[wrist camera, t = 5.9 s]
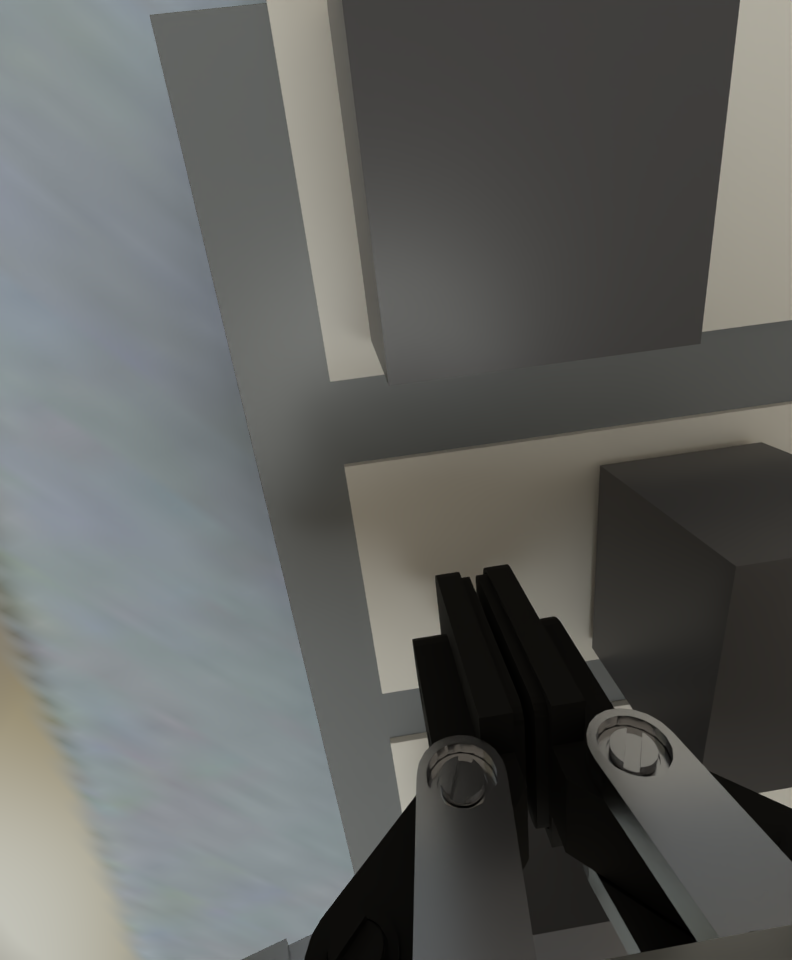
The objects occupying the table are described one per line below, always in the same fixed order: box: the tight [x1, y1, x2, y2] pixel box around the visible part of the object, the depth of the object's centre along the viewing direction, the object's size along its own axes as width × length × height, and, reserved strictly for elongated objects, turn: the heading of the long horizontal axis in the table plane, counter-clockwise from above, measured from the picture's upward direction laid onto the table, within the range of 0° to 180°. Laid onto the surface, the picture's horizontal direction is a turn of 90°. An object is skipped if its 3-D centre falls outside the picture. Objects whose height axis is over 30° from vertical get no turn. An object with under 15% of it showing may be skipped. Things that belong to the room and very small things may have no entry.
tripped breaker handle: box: [592, 442, 792, 793], centre depth 11 cm, size 4×6×4 cm
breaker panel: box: [150, 0, 792, 960], centre depth 13 cm, size 20×25×8 cm
